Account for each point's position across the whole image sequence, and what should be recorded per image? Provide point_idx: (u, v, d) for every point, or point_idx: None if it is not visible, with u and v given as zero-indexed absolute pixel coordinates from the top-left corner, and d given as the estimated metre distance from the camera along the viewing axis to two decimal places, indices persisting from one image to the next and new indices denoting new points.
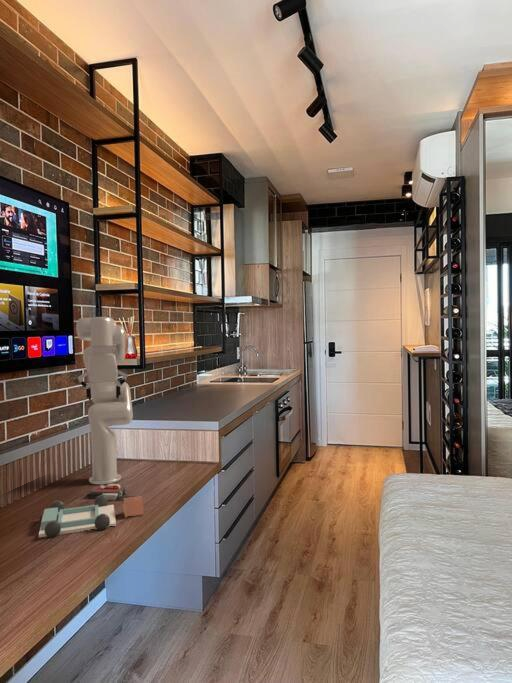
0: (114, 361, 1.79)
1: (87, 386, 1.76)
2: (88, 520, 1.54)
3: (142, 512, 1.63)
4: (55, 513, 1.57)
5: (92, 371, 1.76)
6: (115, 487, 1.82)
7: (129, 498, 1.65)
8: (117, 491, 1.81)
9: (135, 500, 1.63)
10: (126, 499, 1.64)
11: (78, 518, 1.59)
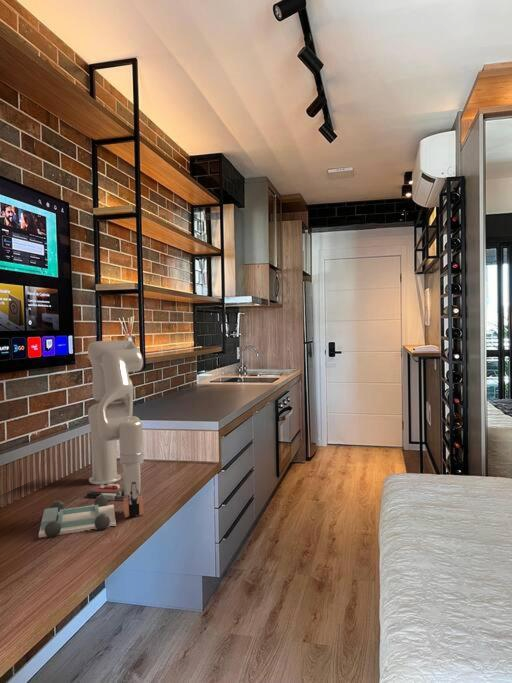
0: None
1: None
2: (88, 520, 1.54)
3: (142, 512, 1.63)
4: (55, 513, 1.57)
5: None
6: (114, 487, 1.83)
7: None
8: (116, 491, 1.81)
9: None
10: (126, 499, 1.64)
11: (78, 518, 1.59)
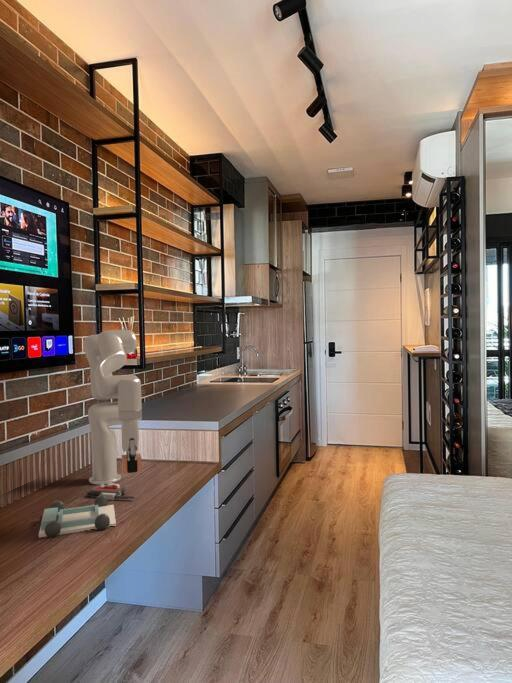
0: None
1: None
2: (88, 520, 1.54)
3: (140, 469, 1.63)
4: (55, 513, 1.57)
5: (138, 438, 1.61)
6: (114, 487, 1.83)
7: (127, 455, 1.65)
8: (115, 491, 1.81)
9: None
10: (124, 456, 1.64)
11: (78, 518, 1.59)
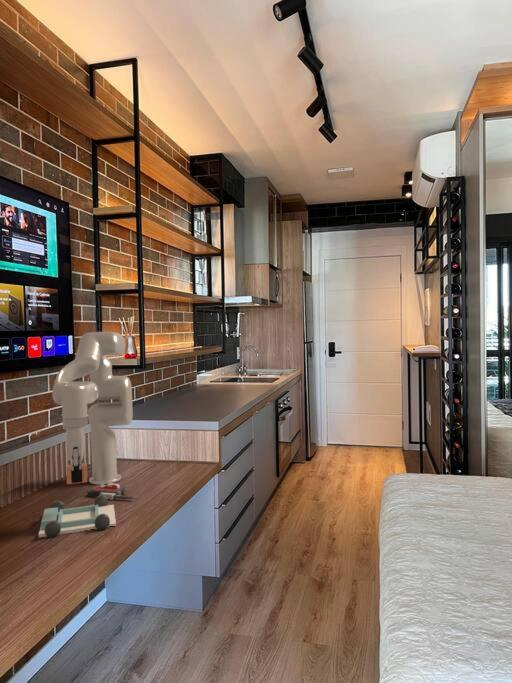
0: None
1: (80, 466, 1.56)
2: (88, 520, 1.54)
3: (85, 478, 1.57)
4: (55, 513, 1.57)
5: (83, 446, 1.55)
6: (114, 487, 1.83)
7: None
8: (115, 491, 1.81)
9: None
10: (69, 465, 1.58)
11: (78, 518, 1.59)
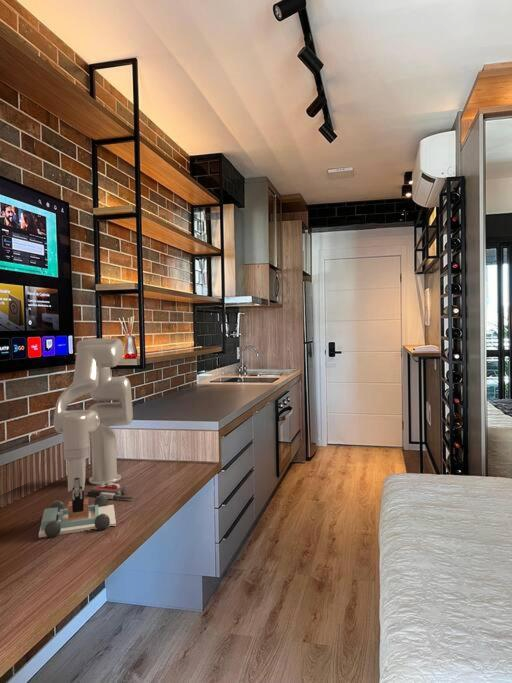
0: None
1: (81, 496, 1.54)
2: (88, 520, 1.54)
3: (87, 516, 1.57)
4: (55, 513, 1.57)
5: (84, 477, 1.56)
6: (114, 487, 1.83)
7: None
8: (115, 491, 1.81)
9: None
10: (71, 502, 1.59)
11: None
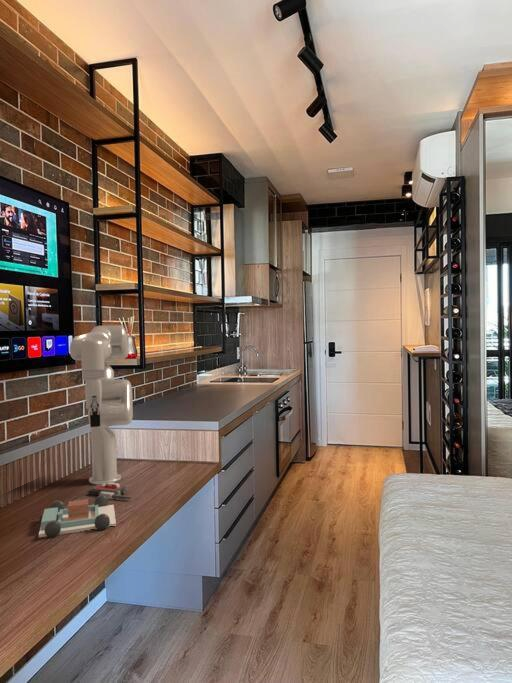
0: None
1: (98, 412, 1.69)
2: (88, 520, 1.54)
3: (87, 516, 1.57)
4: (55, 513, 1.57)
5: (101, 396, 1.70)
6: (114, 486, 1.84)
7: (74, 501, 1.60)
8: (114, 490, 1.82)
9: (80, 504, 1.58)
10: (71, 502, 1.59)
11: None
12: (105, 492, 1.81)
